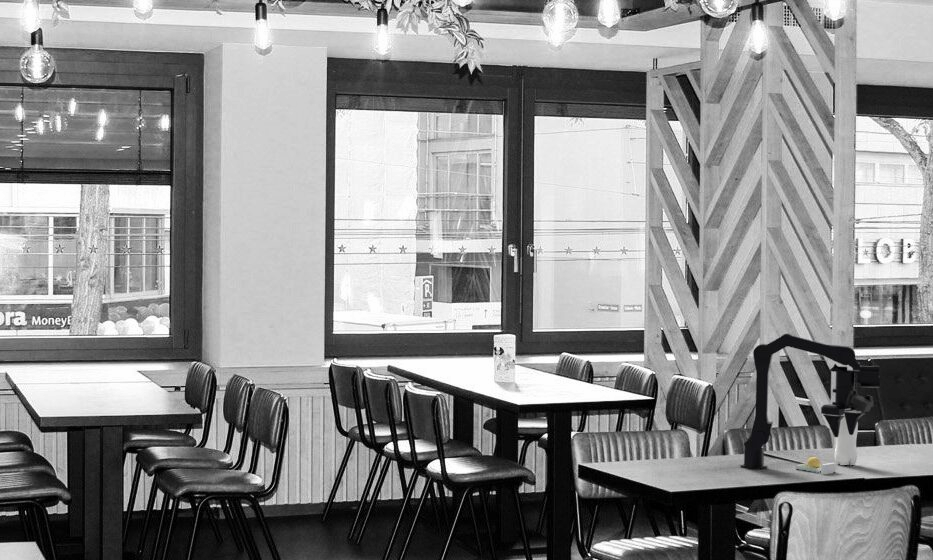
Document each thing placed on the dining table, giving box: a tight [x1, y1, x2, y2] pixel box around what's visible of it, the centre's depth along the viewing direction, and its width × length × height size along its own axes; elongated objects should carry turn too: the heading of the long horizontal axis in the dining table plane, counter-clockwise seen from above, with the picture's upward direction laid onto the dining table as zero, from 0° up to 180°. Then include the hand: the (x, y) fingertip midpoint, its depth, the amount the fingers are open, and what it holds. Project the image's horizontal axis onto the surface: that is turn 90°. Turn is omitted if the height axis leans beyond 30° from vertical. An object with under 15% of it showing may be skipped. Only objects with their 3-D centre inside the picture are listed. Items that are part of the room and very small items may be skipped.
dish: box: [795, 462, 822, 473], centre depth 375 cm, size 8×8×1 cm
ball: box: [806, 456, 821, 468], centre depth 373 cm, size 4×4×4 cm
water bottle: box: [834, 411, 859, 466], centre depth 387 cm, size 7×7×25 cm
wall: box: [820, 462, 837, 475], centre depth 369 cm, size 7×1×3 cm, turn 133°
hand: (843, 435), depth 368 cm, fingers open, 9 cm apart
